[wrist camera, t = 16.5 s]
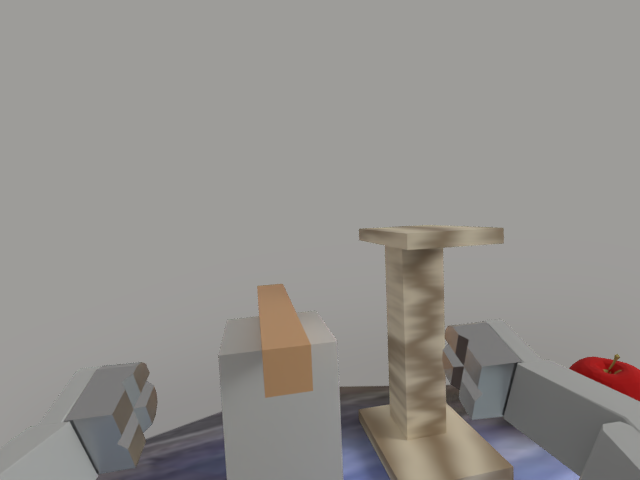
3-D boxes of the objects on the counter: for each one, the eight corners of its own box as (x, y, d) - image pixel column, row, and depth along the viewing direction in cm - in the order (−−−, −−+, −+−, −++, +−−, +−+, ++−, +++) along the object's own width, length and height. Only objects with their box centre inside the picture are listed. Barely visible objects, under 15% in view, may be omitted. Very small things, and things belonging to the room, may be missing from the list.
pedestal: (231, 549, 29) (218, 355, 28) (236, 465, 39) (227, 319, 37) (345, 523, 31) (337, 341, 30) (322, 450, 41) (316, 310, 39)
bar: (265, 397, 21) (262, 350, 21) (258, 310, 40) (257, 285, 40) (313, 390, 21) (310, 344, 21) (284, 308, 41) (282, 283, 41)
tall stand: (404, 505, 32) (396, 234, 31) (359, 420, 46) (351, 229, 44) (513, 480, 35) (512, 227, 33) (439, 406, 48) (435, 224, 47)
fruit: (565, 439, 41) (566, 358, 40) (560, 402, 48) (561, 333, 48) (673, 467, 36) (676, 375, 35) (649, 420, 43) (651, 344, 43)
